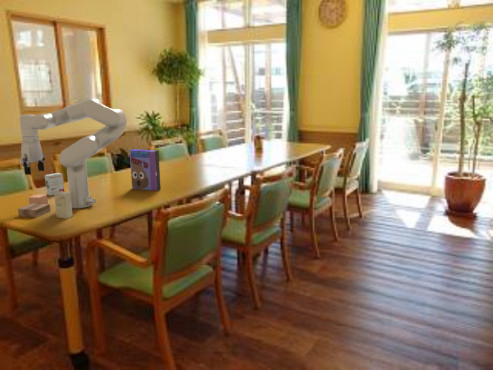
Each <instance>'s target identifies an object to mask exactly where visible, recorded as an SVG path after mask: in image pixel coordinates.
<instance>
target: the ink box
mask: <svg viewBox="0 0 493 370" xmlns="http://www.w3.org/2000/svg"><path fill="white" fill-rule="evenodd" d="M63 176H64V175H63V173H61V172H56V173H54V172H53V173H50V174H44V181H45V182H44V183H45V189H46V195H47V196H55V194H54V193H56V192H60V191H63V192H66V190H65V184H64V177H63Z"/></svg>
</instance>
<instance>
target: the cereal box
mask: <svg viewBox="0 0 493 370" xmlns="http://www.w3.org/2000/svg"><path fill="white" fill-rule="evenodd" d="M128 151H129V161H130V162H129V163H130V164H129V165H130V175H131V176H130V177H131V189H132V190H135V189H136V190H140V191H141V190H144V191H150V192H151V191H152V192H157V190H158V191H159V190H162V189H161V174H160V173H161V172H160V171H161V170H160V155H159V154H160V152H159V150H154V149H153V150H151V149H148V150H147V149H137V148H136V149H135V148H134V149H130V150H128Z"/></svg>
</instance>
